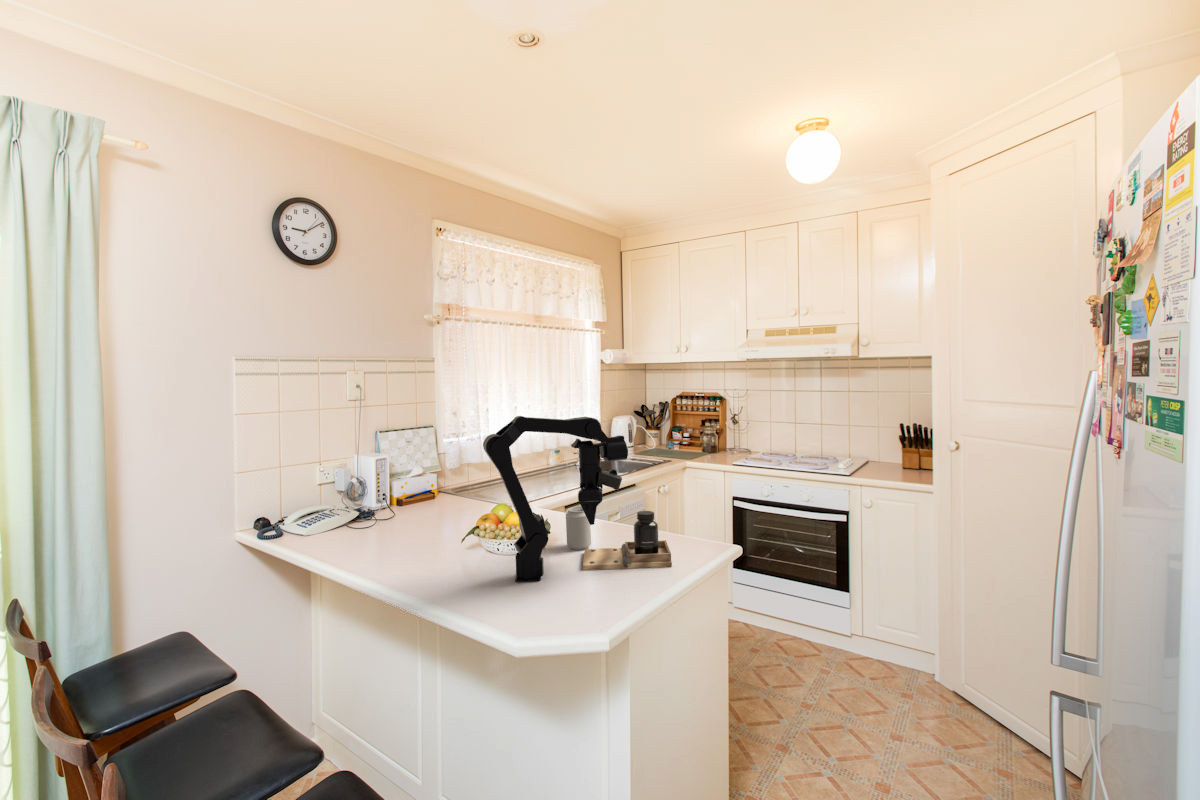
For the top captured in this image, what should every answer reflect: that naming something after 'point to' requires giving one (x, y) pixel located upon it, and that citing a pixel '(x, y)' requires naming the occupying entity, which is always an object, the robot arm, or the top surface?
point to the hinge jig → (626, 557)
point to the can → (577, 529)
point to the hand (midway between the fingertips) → (592, 519)
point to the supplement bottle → (645, 533)
